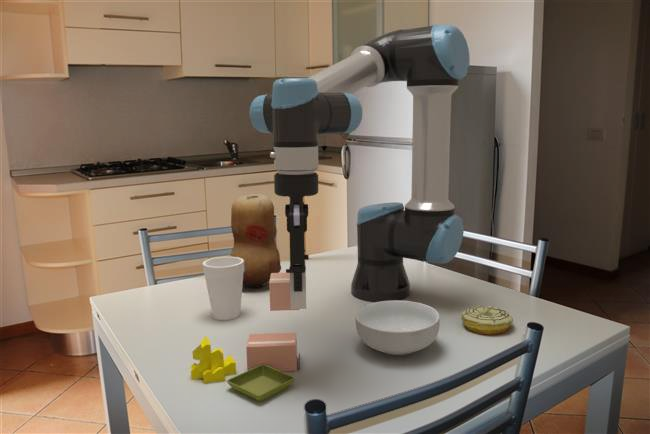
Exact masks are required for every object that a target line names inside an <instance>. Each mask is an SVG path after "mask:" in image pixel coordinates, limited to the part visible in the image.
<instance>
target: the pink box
mask: <svg viewBox="0 0 650 434" xmlns="http://www.w3.org/2000/svg"><path fill="white" fill-rule="evenodd" d="M268 286H269V290H268V291H269V309H270V311H273V312H274V311H277V312H279V311H300V309H290V273H286V272H279V273H271V276H270V281H269V282H268Z"/></svg>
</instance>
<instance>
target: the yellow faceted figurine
mask: <svg viewBox="0 0 650 434" xmlns="http://www.w3.org/2000/svg"><path fill="white" fill-rule="evenodd" d="M211 347H212V346H211V341H210V340H209V338H208V337H207V336H206V335H205V336H204V337H203V338H202V339H201V342H200V344H199V345H198V346H197V347H196V348H195V349H193V350H192V360H195V361H199V362H198V363H196V362H194V363H191V365H190V376H191V377H190V378H191V380H197V379H203V384H208V383H215V382H216V383H218V382H224V381H226V376H227V375H228V376H230V375H236V374H237V366H236V360H235V359H234V357H233V356H232V354H229V355H228V356H227V357H226V358H224V350H223V349H221V348H220V347H216V349H213V350H212V349H211Z"/></svg>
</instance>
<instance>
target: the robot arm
mask: <svg viewBox="0 0 650 434" xmlns="http://www.w3.org/2000/svg"><path fill="white" fill-rule="evenodd" d="M469 49H470V48H469V45H468V42H467V40H466V37H465V35H464V33H463V31H461V29H460V28H459V27H457V26H455V25H452V24H442V25H441V24H437V25H436V24H435V25H430V26H423V27H414V28H407V29H398V30H392V31H389V32H387V33H386V32H385V33H384V34H381V35H379V36H377V37H376V38H374V39H371V40H369V41H367V42H365V43H364V44H361V45H360V46H358V47H356V48H354V49H353V51H352V52H351V53H350V56H348V57H346V58H344V59H341V60H340V61H338V62H336V63H334V64H333V65H330V66H329V67H327V68H324V69H323V70H321V71H319V72H317V73H315V74H313V75H311V76H309V77H308V78H307V77H306V78H305V77H288V78H280V79H279V78H277V79H275V81H274V82H273V84H272V92H271V93H272V94H271V93H266V94H262V95H258V96H256V97H255V98H254V99H253V100H252V102H251V105H250V107H249V119H250V121H251V125H252V127H253V128H254V129H255V130H256V131H258V132H260V133H262V134H263V133H264V134H270V135H273V142H272V143H273V151H271V152H270V154H269V157H270V158H271V159H274V160H273V163H274V164H273V168H274V169H275V171H277V172H276V173H274V175H273V178H274V179H273V184H274V186H273V187H274V189H273V190H274V194H275V195H276V196H279V197H288V198H289V204H287V203H286V204H285V207H284V212H285V213H284V215H285V217H286V230H287V232H288V233H289V268H286V269H285V273H290V309H299V310H304V309H305V310H306V309H307V277H306V276H307V273H306V272H307V266H306V261H308V260H309V259H310V258H309V255H310V254H305V253H306V248H305V243H306V242H305V233H306V232H307V231H308V217H309V204H308V203H305V201H304V198H305V197H313V196H315V195H318V193H319V174H318V173H317V172H316V171H317V170H318V169H319V142H318V139H319V138H318V137H319V136H324V135H325V136H327V135H340V136H343V135H345V134H350V133H352V132H354V131H356V130H357V129H358V128H359V126H360V125H361V123H362V119H363V107H362V104H361V102H360V100H359V99H358V97H357V96H355V95H354V94H355V93H356V92H358V91H360V90H362V89H364V88H365V87H366V88H372V87H373V88H374V87H376V86H377V85H380V84H382V83H388V82H406V90H408V91H409V92H410V93H411V95H412V96H413V97H412V137H411V138H412V142H411V143H412V145H411V148H412V149H411V151H412V152H411V196H410V197H411V198H410V199H409V200H408V201H407V203H406V204H405V205H404V204H403V202H384V203H382V202H381V203H375V204H369V205H365V206H362V207H360V209H359V210H357V221H356V231H357V233H356V236H357V237H356V239H357V241H356V242H357V264H356V269H355V271H354V274H353V277H352V280H351V284H350V285H351V286H350V289H351V292H350V293H351V294H352V296H354V297H355V298H358V299H360V300H364V301H369V302H381V301H393V300H403V299H405V298H407V297H408V296H409V295H410V293H411V285H410V281H409V278H408V277H409V276H408V275H407V271H406V267H405V266H404V265H405V264H404V259H409V260H415V261H421V262H425V263H429V264H432V263H434V264H439V265H440V264H443V265H445V264H447V263H449V262H450V261H452V260H453V259H454V258H455V257H456V256H457V253H458V251H459V250H460V249H461V246H462V242H463V237H464V231H465V229H464V228H465V227H464V226H465V225H464V222H463V221H464V220H463V218H461V217H460V216H459V215H457V214H455V209H456V208H455V205H454V203H452V202H451V201H450V200H449V187H450V186H449V185H450V183H449V182H450V153H451V152H450V150H451V149H450V147H451V120H452V118H451V117H452V115H451V114H452V95H453V93H454V92H456V91H457V90H458V89H459V80H462V79H463V78H465V77H466V76H467V74H468V71H469V70H468V69H470V59H471V58H470V50H469Z"/></svg>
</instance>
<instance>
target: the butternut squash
mask: <svg viewBox="0 0 650 434" xmlns="http://www.w3.org/2000/svg"><path fill="white" fill-rule="evenodd" d="M230 215H231V220H230V227H231V232H232V237H233V247H232V250H231V253H230V255H229V257H239V258H242V259H243V260H244V273H243V285H247V286H248V287H249V288H257V287H263V286H264V285H266V284H267V283H269V281H270V276H271V273H281V270H282V265H281V258H280V253H279V252H280V251H279V249H278V247H277V243H276V240H275V239H276V236H277V232H278V230H277V227H276V225H275V223H276V221H275V220H276V219H275V206H274V204H273V201H272V200H271V199H270V197H268V196H266V195H264V194H261V193H257V194H256V193H251V194H245V195H242V196H239V197H237V198H236V199H235V200H234V201H233V202H232V205H231V213H230Z"/></svg>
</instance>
